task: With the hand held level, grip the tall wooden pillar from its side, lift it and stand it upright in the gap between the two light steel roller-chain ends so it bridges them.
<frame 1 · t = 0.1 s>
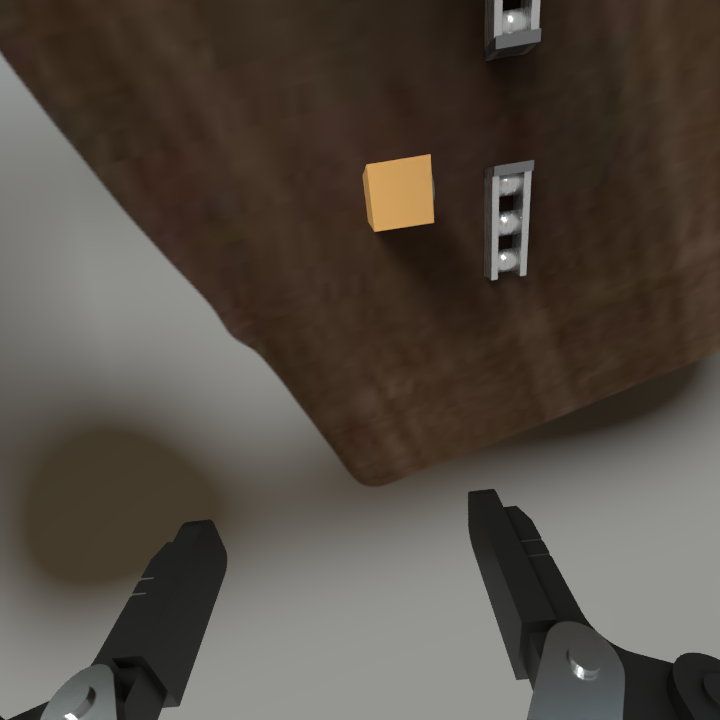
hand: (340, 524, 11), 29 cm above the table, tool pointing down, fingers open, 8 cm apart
chain end 1: (501, 222, 35), on the table
tall wooden pillar: (386, 196, 34), on the table
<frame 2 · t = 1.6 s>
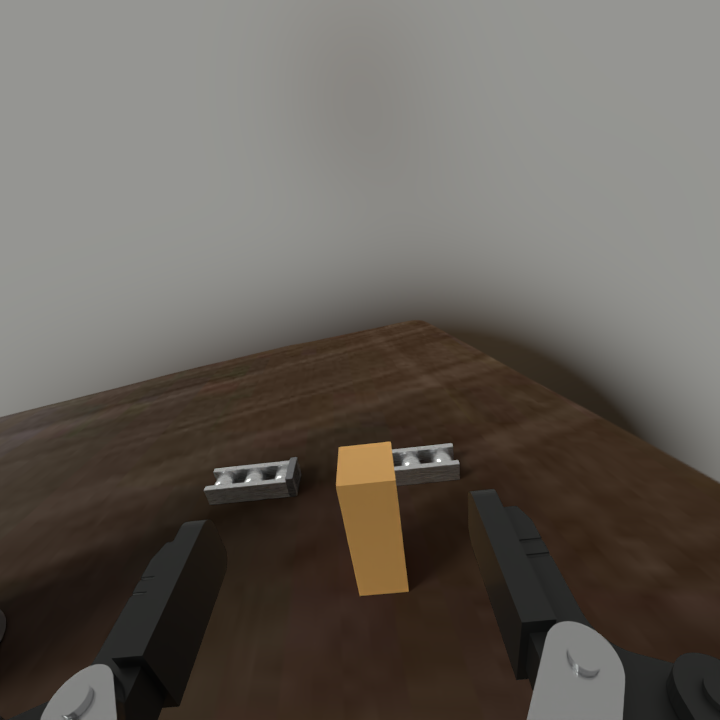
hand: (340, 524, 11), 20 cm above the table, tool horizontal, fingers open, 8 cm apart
chain end 1: (411, 472, 40), on the table
chain end 2: (257, 488, 41), on the table
tall wooden pillar: (382, 569, 30), on the table
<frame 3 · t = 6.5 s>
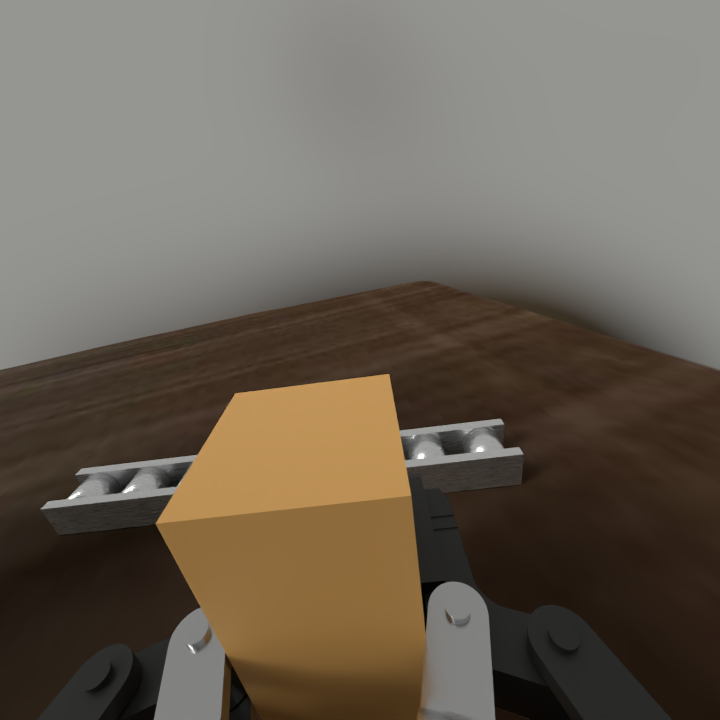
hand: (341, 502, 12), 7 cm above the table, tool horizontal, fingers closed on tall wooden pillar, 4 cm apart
chain end 1: (428, 473, 22), on the table
chain end 2: (151, 504, 23), on the table
tall wooden pillar: (372, 712, 12), on the table, touching gripper
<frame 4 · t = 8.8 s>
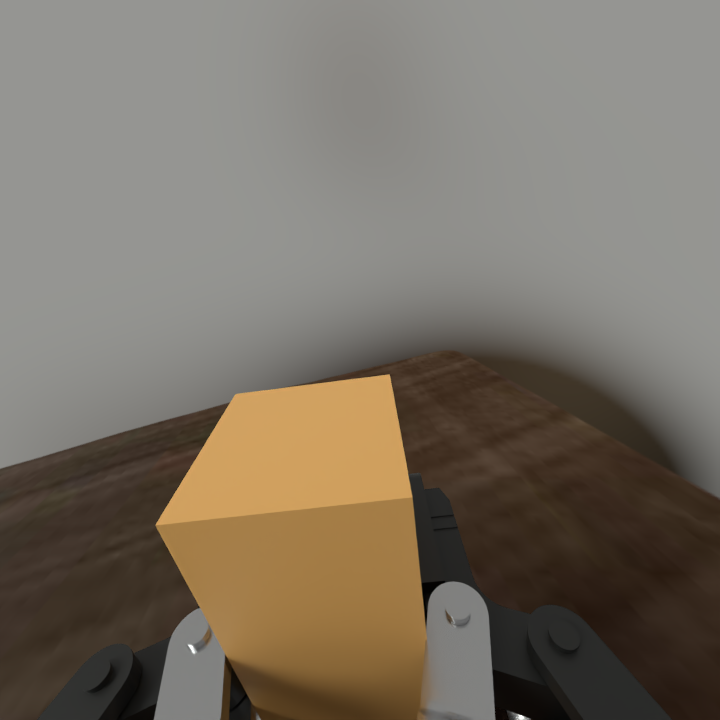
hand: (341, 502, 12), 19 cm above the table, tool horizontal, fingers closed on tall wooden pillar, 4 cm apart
tall wooden pillar: (372, 713, 12), point 12 cm above the table, touching gripper
when the fingers open (8 cm above the table, at t = 11.5 s): tall wooden pillar drops 1 cm, on the table.
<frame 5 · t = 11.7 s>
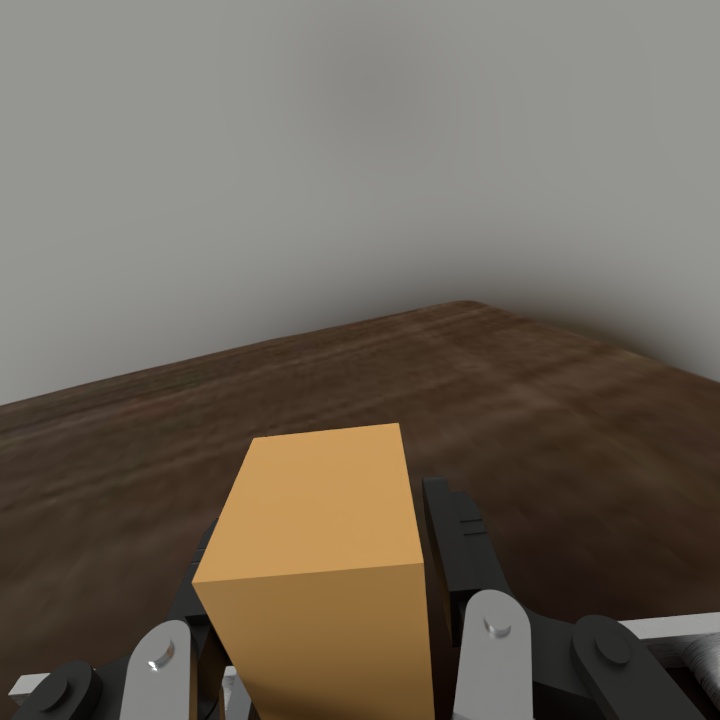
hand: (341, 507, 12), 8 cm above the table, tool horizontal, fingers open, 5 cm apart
chain end 1: (630, 711, 12), on the table
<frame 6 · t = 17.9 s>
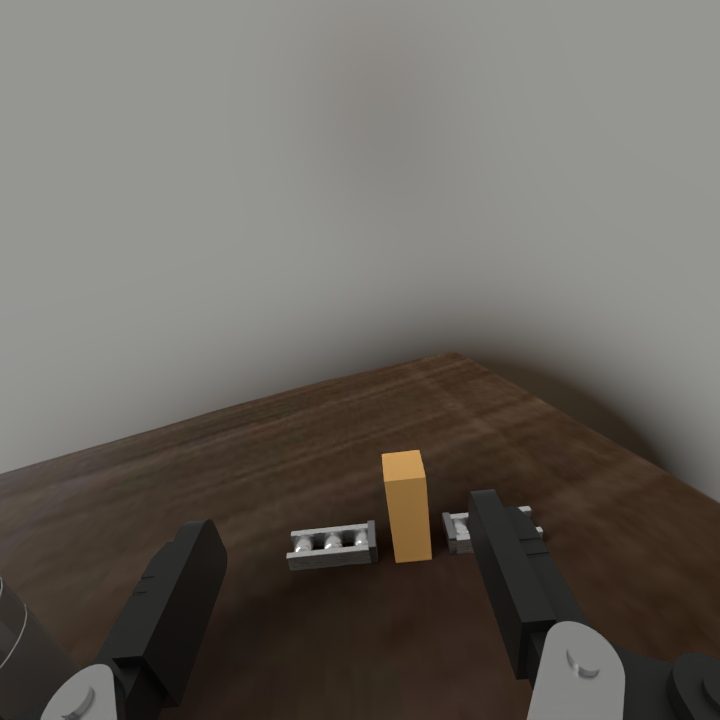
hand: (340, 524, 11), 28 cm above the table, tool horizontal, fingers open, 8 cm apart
chain end 1: (490, 536, 40), on the table
chain end 2: (335, 552, 41), on the table
tall wooden pillar: (411, 544, 41), on the table
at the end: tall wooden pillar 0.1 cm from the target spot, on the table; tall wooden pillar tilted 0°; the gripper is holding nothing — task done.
